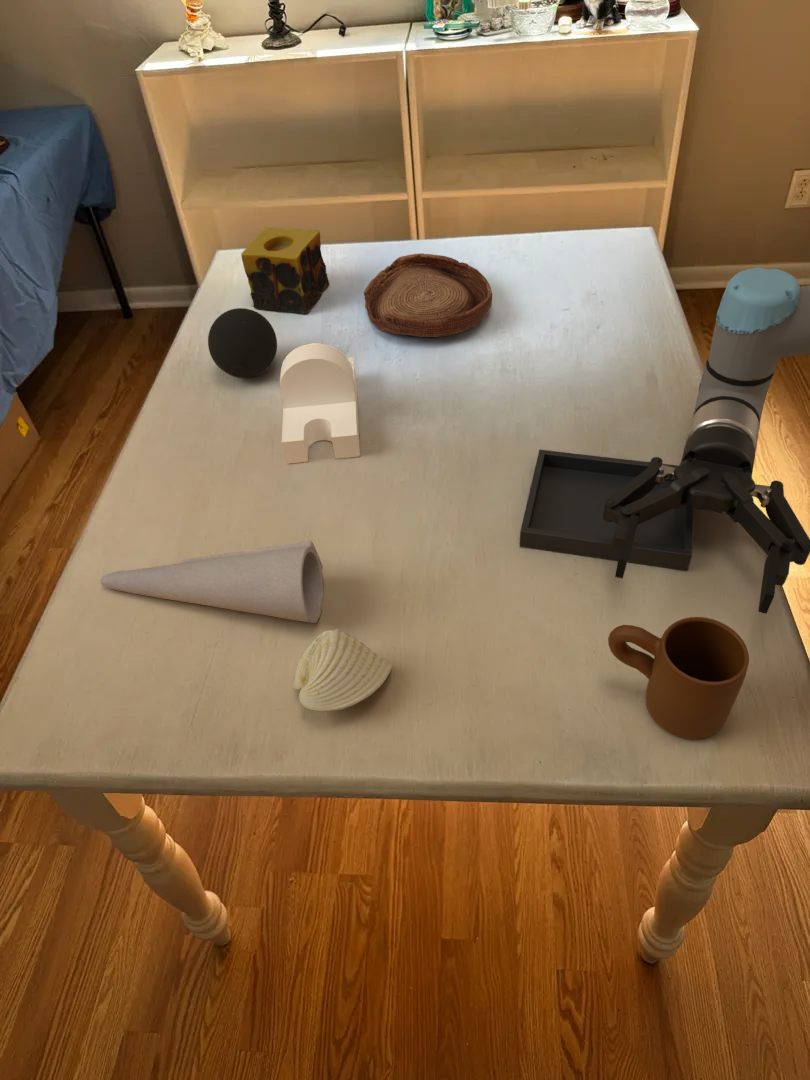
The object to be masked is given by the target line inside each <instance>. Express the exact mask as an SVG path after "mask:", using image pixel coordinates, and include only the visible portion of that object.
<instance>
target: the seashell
mask: <svg viewBox="0 0 810 1080" xmlns="http://www.w3.org/2000/svg"><path fill="white" fill-rule="evenodd" d="M392 669H393V665H392V664H391V663H389V662H388V661H386V660H385V659H383V658H382V657H380V656H379V655H378V654H377V653H376V652H375V651H373V650H372V649H371V648H370V647H369V646H367V645H366V644H365V643H363V642H362V641H360V640H359V639H358V638H357V637H356V636H353V635H351V634H349V633H348V632H346V631H342V630H341V629H340V628H339V629H338V628H337V629H329V630H325V631H323V633H320V634H319V635H318V636H317V637H316V638H315V639H314V640H313V641H312V642H311V643H310V644H309V646H308V647H307V648H306V650H305V651H304V653H303V655H302V657H301V659H300V660H299V662H298V664H297V667H296V670H295V674H294V683H293V688H294V689H295V690H300V691H299V694H298V700H299V702H300V704H301V705H302V706H303V707H304V708H306V709H308V710H311V711H315V712H321V713H322V712H335V711H340V710H344V709H348V708H350V707H352V706H354V705H356V704H359V703H360V702H363V701H364V700H366V699H367V698H369V697H370V696H372V695H373V694H374V693H375V692H376V691H377V690H378V689H379V688H380V687H381V686H382V685H383V684H384V683H385V681H386V680H387V678H388V677H389V675H390V673H391V671H392Z"/></svg>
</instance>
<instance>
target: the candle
mask: <svg viewBox="0 0 810 1080" xmlns="http://www.w3.org/2000/svg"><path fill="white" fill-rule="evenodd" d="M321 247H322V243H321V231H320V230H319V229H302V228H301V229H298V228H284V227H283V228H282V227H264V228H263V229H262V231H261V232H260V233H259V234H257V236H256V237H255V238H254V239H253V240H252V241H251V242H250V244H249V245H247V246H246V248H245V249H244V250H243V251H242V252H241V254H240V255H241V260H242V264H243V269H244V272H245V275H246V278H247V282H248V285H249V288H250V293H249V294H250V298H251V300H252V303H253V308H254V309H256V310H263V311H272V312H284V313H293V314H302V315H305V314H309V312H310V311H311V310H312V309H313V307H314V306H315V305H316V304H317V302H318V301H319V300H320V299H321V297H322V295H323V294H322V293H323V292H324V291H325V290H326V289H327V288H328V287H329V286H330V281H329V277H328V273H327V265H326V263H325V260H324V258H323V256H322V249H321Z"/></svg>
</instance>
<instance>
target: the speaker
mask: <svg viewBox="0 0 810 1080" xmlns="http://www.w3.org/2000/svg"><path fill="white" fill-rule="evenodd" d="M277 339H278V338H277V335H276V332H275V330H274V327H273V325H272V324H271V323H270V321H269V319H267V318H266V317H265V316H263V315H262V314H261V313H259V312H258V311H256V310H253V309H250V308H246V307H245V308H243V307H239V308H238V307H236V308H231V309H229V310H226V311H224V312H222V313H221V314H220V315H219V316H218V317H216V319H215V320H214V321H213V323H212V324H211V327H210V328H209V331H208V336H207V346H208V347H207V348H208V352H209V354H210V357H211V359H212V361H213V362H214V363H215V366H217V368H218V369H220V370H221V371H222V372H224V373H225V374H227V375H228V376H231V377H234V378H237V379H238V378H239V379H250V378H254V377H258V376H259V375H261V374H263V373H264V372H265V371H267V370H268V369H269V368H270V366H271V365H272V364H273V362H274V360H275V358H276V356H277V351H278V340H277Z"/></svg>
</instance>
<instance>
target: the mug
mask: <svg viewBox="0 0 810 1080" xmlns="http://www.w3.org/2000/svg"><path fill="white" fill-rule="evenodd" d="M628 643H631V644H633V645H635V646H637V647H639V648H641V649H642V650H644V651H645V652H647V653H645V652H644V651H641V650H638V649H635V648H633V647H631V646H630V645H629V644H628ZM607 644H608V647H609V650H610V652H611V653H612V655H613V656H614V657H615V659H617V660H618V661H620V662H621V663H623V664H624V665H626V666H629V667H630V668H633V669H634V670H635V669H636V670H637V671H638V672H639V673H640V674H642V675H643V676H645V677H646V678H647V679H648V682H647V685H646V689H645V705H646V708H647V711H648V714H649V715H650V717H651V719H652V720H653V721H654V722H655V723H656V724H657V725H658V726H659V727H660V728H661V729H662V730H664V731H665V732H667V733H669V734H671V735H673V736H676V737H678V738H682V739H687V740H698V739H704V738H707V737H710V736H712V735H714V734H716V733H717V732H718V731H720V729H721V728H723V726H724V724H725V723H726V722H727V719H728V718H729V715H730V712H731V711H732V709H733V706H734V704H735V702H736V700H737V698H738V695H739V693H740V691H741V688H742V686H743V683H744V681H745V679H746V675H747V671H748V668H749V663H750V654H749V650H748V647H747V645H746V643H745V641H744V640H743V638H742V637H741V636H740V635H739V633H738V632H737V631H735V630H734V629H733V628H731V626H729V625H727V624H725V623H723V622H721V621H718V620H716V619H713V618H709V617H704V616H689V617H685V618H682V619H679V620H677V621H675V622H673V623H671V625H669V626H668V627H667V628H666V629H665V630H664V633H663V634H662V635H661V637H659V636H657V635H655V634H653V633H652V632H650V631H648V630H647V629H645V628H644V627H643V628H642V627H640V626H637V625H632V624H622V625H618V626H615V627H614V628H613V629H612V630H610V632H609V634H608V638H607ZM648 653H649V654H650V655H649V654H648ZM651 655H652V656H651ZM653 656H654V657H653Z"/></svg>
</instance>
